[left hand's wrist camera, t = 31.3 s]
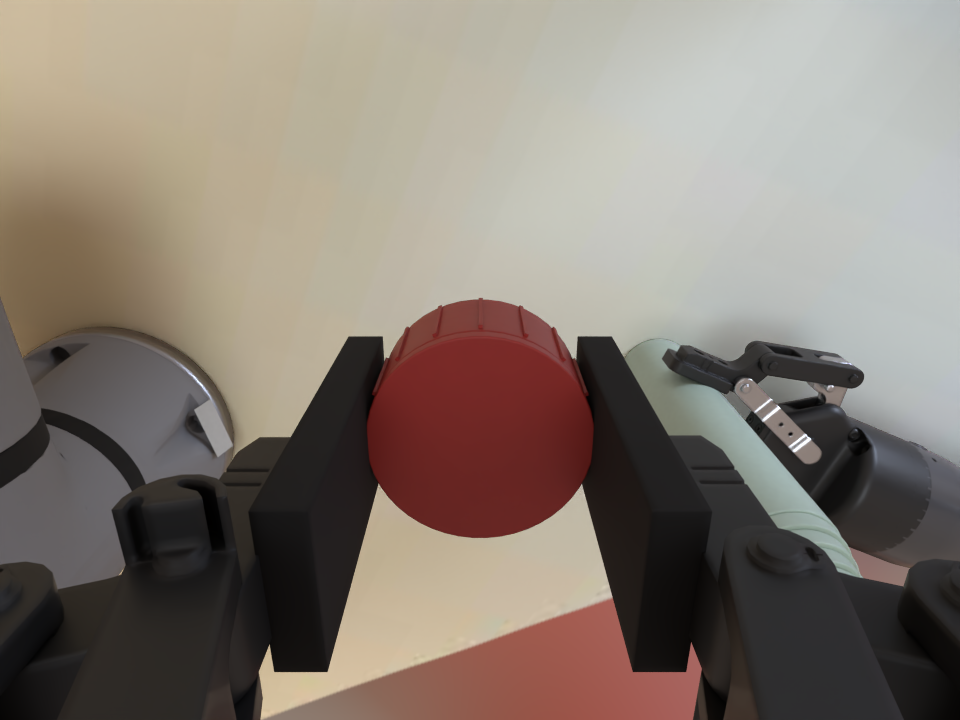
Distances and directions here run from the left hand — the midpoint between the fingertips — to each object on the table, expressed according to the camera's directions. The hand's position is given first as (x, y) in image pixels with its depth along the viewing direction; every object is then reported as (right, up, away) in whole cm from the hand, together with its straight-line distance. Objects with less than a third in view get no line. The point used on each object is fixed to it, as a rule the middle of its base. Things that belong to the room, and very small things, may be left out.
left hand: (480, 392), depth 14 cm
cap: (0, -1, -2) cm, 2 cm away
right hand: (+10, -2, +23) cm, 25 cm away
